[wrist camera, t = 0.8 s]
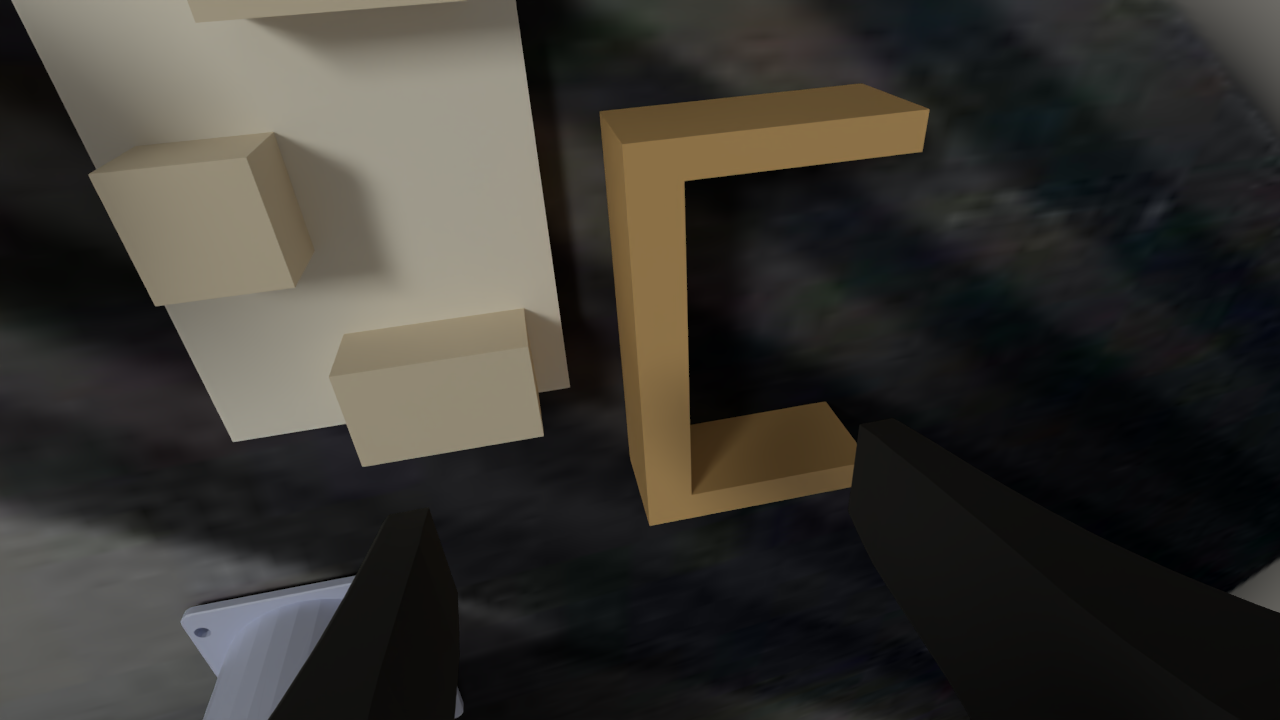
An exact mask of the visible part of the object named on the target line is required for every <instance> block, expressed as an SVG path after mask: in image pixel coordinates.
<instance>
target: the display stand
mask: <svg viewBox="0 0 1280 720" xmlns="http://www.w3.org/2000/svg"><path fill="white" fill-rule="evenodd" d="M11 1H12V3H13V5H14V7H15V9H16V11H17V13H18V15H19V17H20V19H21V20H22V22H23V24H24V26H25V28H26V30H27V32H28V34H29V36H30V38H31V40H32V42H33V44H34V46H35V48H36V50H37V52H38V54H39V56H40V58H41V60H42V62H43V64H44V66H45V68H46V70H47V72H48V74H49V76H50V78H51V80H52V82H53V84H54V86H55V88H56V90H57V92H58V94H59V96H60V98H61V100H62V102H63V104H64V106H65V108H66V110H67V112H68V114H69V116H70V118H71V120H72V122H73V124H74V126H75V128H76V130H77V132H78V134H79V136H80V138H81V140H82V142H83V144H84V146H85V148H86V150H87V152H88V154H89V156H90V158H91V160H92V162H93V164H94V166H95V168H96V170H95V171H93V172H91V173H90V174H88V176H89V178H90V180H91V182H92V184H93V186H94V187H95V189H96V191H97V193H98V195H99V197H100V199H101V201H102V203H103V205H104V207H105V209H106V211H107V213H108V215H109V217H110V219H111V221H112V223H113V225H114V227H115V229H116V231H117V233H118V234H119V236H120V238H121V240H122V242H123V244H124V246H125V248H126V250H127V252H128V254H129V256H130V258H131V260H132V262H133V264H134V266H135V268H136V270H137V272H138V274H139V276H140V278H141V279H142V281H143V283H144V285H145V287H146V289H147V291H148V293H149V295H150V297H151V299H152V301H153V303H154V305H155V306H162V305H165V307H166V309H167V311H168V313H169V315H170V317H171V319H172V321H173V323H174V325H175V327H176V329H177V331H178V333H179V335H180V337H181V339H182V341H183V343H184V345H185V347H186V349H187V351H188V353H189V355H190V357H191V359H192V361H193V363H194V365H195V367H196V369H197V371H198V373H199V375H200V377H201V379H202V381H203V383H204V385H205V387H206V389H207V391H208V393H209V395H210V397H211V399H212V401H213V403H214V405H215V407H216V409H217V411H218V413H219V415H220V417H221V419H222V421H223V423H224V425H225V427H226V429H227V431H228V433H229V435H230V437H231V439H232V441H233V442H237V441H243V440H249V439H255V438H261V437H267V436H274V435H280V434H286V433H292V432H298V431H305V430H311V429H317V428H323V427H329V426H335V425H342V424H347V427H348V430H349V432H350V435H351V438H352V440H353V443H354V446H355V448H356V451H357V454H358V456H359V459H360V461H361V464H362V467H365V466H371V465H377V464H383V463H389V462H395V461H400V460H406V459H412V458H418V457H424V456H430V455H436V454H441V453H447V452H453V451H459V450H465V449H471V448H477V447H482V446H488V445H494V444H500V443H506V442H512V441H518V440H523V439H529V438H535V437H541V436H544V433H543V425H542V417H541V409H540V401H539V392H545V391H552V390H558V389H564V388H570V383H569V376H568V368H567V361H566V354H565V347H564V340H563V333H562V326H561V319H560V312H559V305H558V298H557V290H556V283H555V276H554V269H553V262H552V255H551V248H550V241H549V234H548V227H547V220H546V212H545V205H544V198H543V191H542V184H541V177H540V170H539V163H538V156H537V149H536V141H535V134H534V127H533V120H532V113H531V106H530V99H529V92H528V85H527V78H526V71H525V63H524V56H523V49H522V42H521V35H520V28H519V21H518V14H517V7H516V0H11Z"/></svg>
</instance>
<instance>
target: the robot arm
mask: <svg viewBox="0 0 1280 720" xmlns="http://www.w3.org/2000/svg"><path fill="white" fill-rule="evenodd" d="M848 512H849V514H850V517H851V519H852V521H853V523H854V525H855V527H856V530H857V532H858V534H859V536H860V538H861V540H862V542H863V544H864V546H865V548H866V550H867V552H868V554H869V557H870V559H871V561H872V563H873V564H874V566H875V568H876V569H877V571H878V572H879V574H880V576H881V577H882V579H883V580H884V582H885V584H886V585H887V587H888V588H889V590H890V591H891V593H892V594H893V596H894V598H895V599H896V601H897V602H898V604H899V605H900V607H901V609H902V610H903V612H904V613H905V615H906V616H907V618H908V619H909V621H910V622H911V624H912V625H913V627H914V629H915V630H916V632H917V633H918V635H919V636H920V638H921V639H922V641H923V642H924V644H925V645H926V647H927V649H928V650H929V652H930V653H931V655H932V656H933V658H934V659H935V661H936V662H937V664H938V665H939V667H940V669H941V670H942V672H943V673H944V675H945V676H946V678H947V679H948V681H949V683H950V684H951V686H952V688H953V689H954V691H955V693H956V694H957V696H958V698H959V699H960V701H961V703H962V704H963V706H964V708H965V710H966V711H967V713H968V715H969V717H970V719H971V720H1280V613H1278V612H1276V611H1273V610H1270V609H1267V608H1265V607H1262V606H1259V605H1256V604H1254V603H1252V602H1249V601H1246V600H1244V599H1241V598H1239V597H1236V596H1234V595H1231V594H1229V593H1226V592H1224V591H1221V590H1219V589H1216V588H1214V587H1211V586H1208V585H1206V584H1203V583H1201V582H1198V581H1196V580H1194V579H1191V578H1189V577H1187V576H1184V575H1182V574H1180V573H1177V572H1175V571H1172V570H1170V569H1168V568H1166V567H1163V566H1161V565H1159V564H1157V563H1155V562H1152V561H1150V560H1148V559H1146V558H1144V557H1142V556H1139V555H1137V554H1135V553H1133V552H1131V551H1129V550H1126V549H1124V548H1122V547H1120V546H1118V545H1116V544H1113V543H1111V542H1109V541H1107V540H1105V539H1103V538H1101V537H1099V536H1097V535H1095V534H1093V533H1091V532H1089V531H1087V530H1085V529H1083V528H1082V527H1080V526H1078V525H1076V524H1074V523H1072V522H1070V521H1068V520H1066V519H1065V518H1063V517H1061V516H1059V515H1057V514H1055V513H1053V512H1051V511H1049V510H1048V509H1046V508H1044V507H1042V506H1040V505H1039V504H1037V503H1035V502H1033V501H1031V500H1030V499H1028V498H1026V497H1024V496H1022V495H1021V494H1019V493H1017V492H1016V491H1014V490H1012V489H1010V488H1009V487H1007V486H1005V485H1003V484H1002V483H1000V482H998V481H997V480H995V479H993V478H992V477H990V476H988V475H987V474H985V473H983V472H982V471H980V470H978V469H977V468H975V467H973V466H972V465H970V464H968V463H967V462H965V461H963V460H962V459H960V458H959V457H957V456H955V455H954V454H952V453H950V452H949V451H947V450H946V449H944V448H942V447H941V446H939V445H937V444H936V443H934V442H933V441H931V440H929V439H928V438H926V437H924V436H923V435H921V434H919V433H918V432H916V431H914V430H913V429H911V428H909V427H908V426H906V425H904V424H903V423H901V422H899V421H897V420H896V419H894V418H890V419H885V420H880V421H875V422H870V423H864V424H859V432H858V439H857V447H856V454H855V462H854V469H853V477H852V484H851V492H850V499H849V507H848ZM181 625H182V627H183V628H184V630H185V631H186V632H187V634H188V635H189V637H190V638H191V640H192V641H193V643H194V644H195V646H196V647H197V648H198V650H199V651H200V653H201V654H202V656H203V657H204V659H205V660H206V662H207V663H208V664H209V666H210V667H211V669H212V670H213V672H214V673H215V675H216V676H217V678H218V679H217V682H216V684H215V687H214V690H213V693H212V696H211V698H210V701H209V704H208V707H207V710H206V712H205V715H204V718H203V720H455V718H458V717H459V716H461V715H462V713H463V700H462V698H461V695H460V692H459V689H458V686H457V683H458V671H459V657H460V650H459V615H458V592H457V589H456V587H455V584H454V581H453V578H452V575H451V572H450V569H449V566H448V563H447V560H446V557H445V554H444V551H443V548H442V545H441V542H440V539H439V537H438V534H437V531H436V528H435V525H434V522H433V519H432V516H431V513H430V510H429V507H428V508H423V509H418V510H413V511H407V512H402V513H397V514H392V515H389V516H388V517H387V518H386V519H385V520H384V522H383V524H382V526H381V528H380V530H379V532H378V534H377V536H376V538H375V540H374V542H373V543H372V545H371V547H370V549H369V551H368V553H367V555H366V557H365V559H364V561H363V563H362V565H361V567H360V569H359V570H358V572H357V574H356V575H355V576H350V577H345V578H340V579H335V580H329V581H324V582H319V583H314V584H309V585H303V586H298V587H293V588H288V589H282V590H277V591H272V592H267V593H262V594H256V595H251V596H246V597H241V598H235V599H230V600H225V601H220V602H215V603H209V604H204V605H199V606H194V607H191V608H189V609H187V610H186V611H185V613H184V615H183V617H182V620H181Z"/></svg>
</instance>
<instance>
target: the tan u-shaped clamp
mask: <svg viewBox="0 0 1280 720" xmlns="http://www.w3.org/2000/svg"><path fill="white" fill-rule="evenodd" d="M929 110H930V109H928V108H925V107H922V106H920V105H917V104H915V103H912V102H909V101H907V100H904V99H901V98H899V97H896V96H894V95H891V94H888V93H886V92H883V91H880V90H878V89H875V88H873V87H870V86H867V85H865V84H862V83H861V84H851V85H842V86H833V87H823V88H814V89H805V90H795V91H786V92H777V93H767V94H758V95H748V96H739V97H730V98H720V99H711V100H702V101H692V102H683V103H673V104H664V105H655V106H645V107H636V108H627V109H617V110H608V111H600V122H601V133H602V145H603V156H604V168H605V179H606V190H607V202H608V213H609V224H610V236H611V247H612V259H613V270H614V281H615V293H616V304H617V315H618V327H619V338H620V350H621V361H622V372H623V384H624V395H625V407H626V418H627V429H628V441H629V452H630V459H631V463H632V466H633V470H634V473H635V477H636V480H637V484H638V487H639V491H640V494H641V497H642V501H643V504H644V508H645V511H646V515H647V518H648V522H649V525H650V526H651V525H657V524H662V523H667V522H672V521H677V520H683V519H688V518H693V517H698V516H703V515H708V514H714V513H719V512H724V511H729V510H734V509H740V508H745V507H750V506H755V505H760V504H765V503H771V502H776V501H781V500H786V499H791V498H797V497H802V496H807V495H812V494H817V493H822V492H828V491H833V490H838V489H843V488H848V487H851V484H852V477H853V469H854V462H855V454H856V447H857V443H856V441H855V440H854V439H853V437H852V436H851V435H850V433H849V432H848V431H847V429H846V428H845V427H844V425H843V424H842V423H841V421H840V420H839V419H838V417H837V416H836V415H835V413H834V412H833V411H832V409H831V408H830V407H829V405H828V404H827V403H826V401H825V402H819V403H813V404H808V405H802V406H796V407H790V408H785V409H779V410H773V411H767V412H762V413H756V414H750V415H744V416H739V417H733V418H727V419H721V420H716V421H710V422H704V423H698V424H693V425H690V402H689V358H688V315H687V272H686V229H685V186H684V181H689V180H697V179H706V178H714V177H722V176H730V175H738V174H746V173H754V172H762V171H771V170H779V169H787V168H795V167H803V166H811V165H819V164H827V163H836V162H844V161H852V160H860V159H868V158H876V157H884V156H892V155H901V154H909V153H917V152H922V151H923V145H924V139H925V133H926V127H927V121H928V116H929Z"/></svg>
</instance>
